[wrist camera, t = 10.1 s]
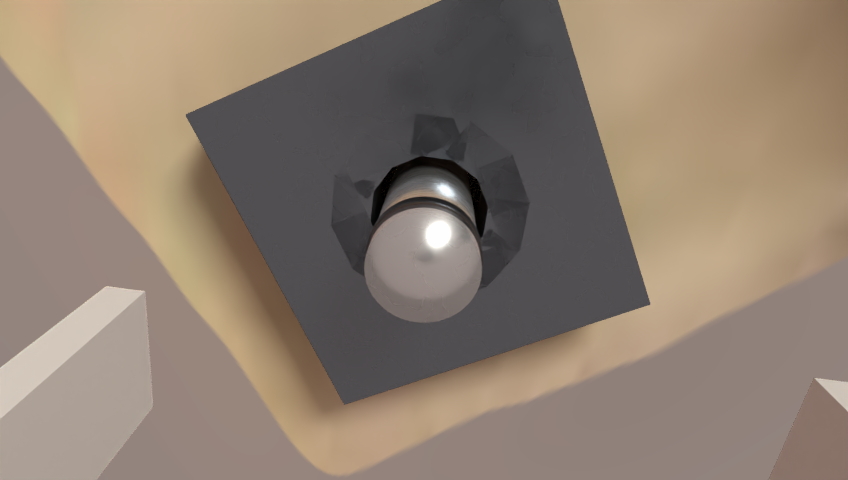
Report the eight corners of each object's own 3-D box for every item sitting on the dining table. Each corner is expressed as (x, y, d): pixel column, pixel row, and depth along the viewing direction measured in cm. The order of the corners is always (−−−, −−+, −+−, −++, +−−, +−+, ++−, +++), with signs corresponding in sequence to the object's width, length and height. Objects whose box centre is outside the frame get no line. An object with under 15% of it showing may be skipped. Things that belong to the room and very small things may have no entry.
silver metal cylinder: (395, 141, 32) (368, 204, 21) (477, 153, 32) (494, 221, 21) (385, 220, 34) (356, 316, 23) (464, 231, 34) (473, 332, 23)
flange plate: (528, -35, 29) (543, -46, 24) (622, 266, 35) (650, 304, 30) (223, 101, 32) (185, 114, 27) (356, 357, 38) (344, 404, 33)
